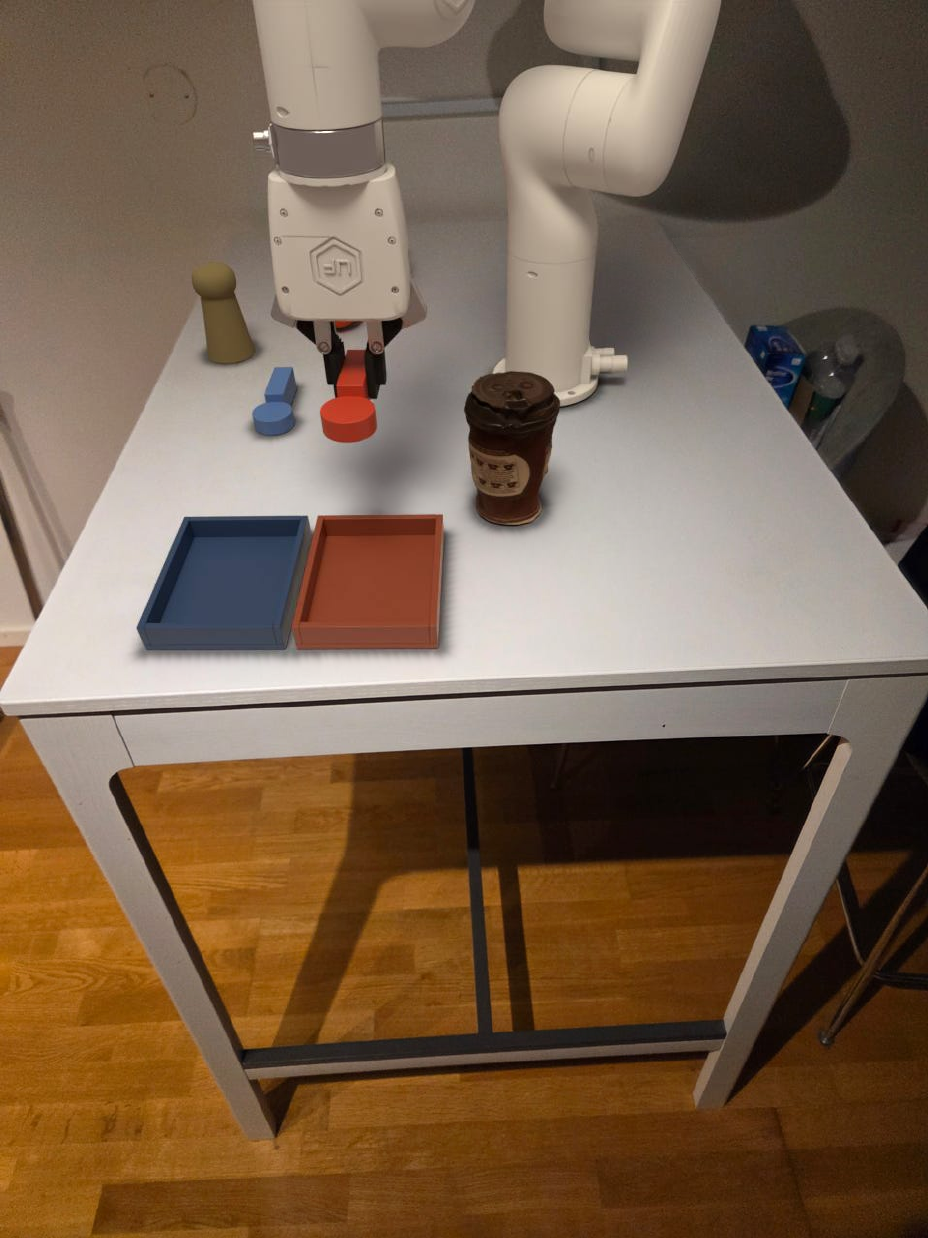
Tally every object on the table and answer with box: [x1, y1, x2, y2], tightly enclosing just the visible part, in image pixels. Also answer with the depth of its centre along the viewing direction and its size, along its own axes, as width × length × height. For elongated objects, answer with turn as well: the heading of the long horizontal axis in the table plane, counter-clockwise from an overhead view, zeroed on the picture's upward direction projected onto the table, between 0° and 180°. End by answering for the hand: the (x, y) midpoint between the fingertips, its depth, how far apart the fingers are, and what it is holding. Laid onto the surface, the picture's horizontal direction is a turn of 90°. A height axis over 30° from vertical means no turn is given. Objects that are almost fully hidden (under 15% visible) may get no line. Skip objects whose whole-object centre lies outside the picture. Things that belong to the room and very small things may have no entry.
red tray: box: [291, 513, 445, 650], centre depth 69 cm, size 12×15×3 cm
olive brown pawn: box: [191, 261, 256, 364], centre depth 99 cm, size 6×6×11 cm
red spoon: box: [319, 349, 378, 444], centre depth 66 cm, size 11×4×3 cm, turn 178°
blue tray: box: [135, 515, 313, 651], centre depth 70 cm, size 12×15×3 cm
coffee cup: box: [463, 371, 561, 526], centre depth 73 cm, size 9×8×13 cm
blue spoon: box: [251, 366, 298, 437], centre depth 91 cm, size 11×4×3 cm, turn 179°
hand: (358, 389), depth 68 cm, fingers closed on red spoon, 2 cm apart
